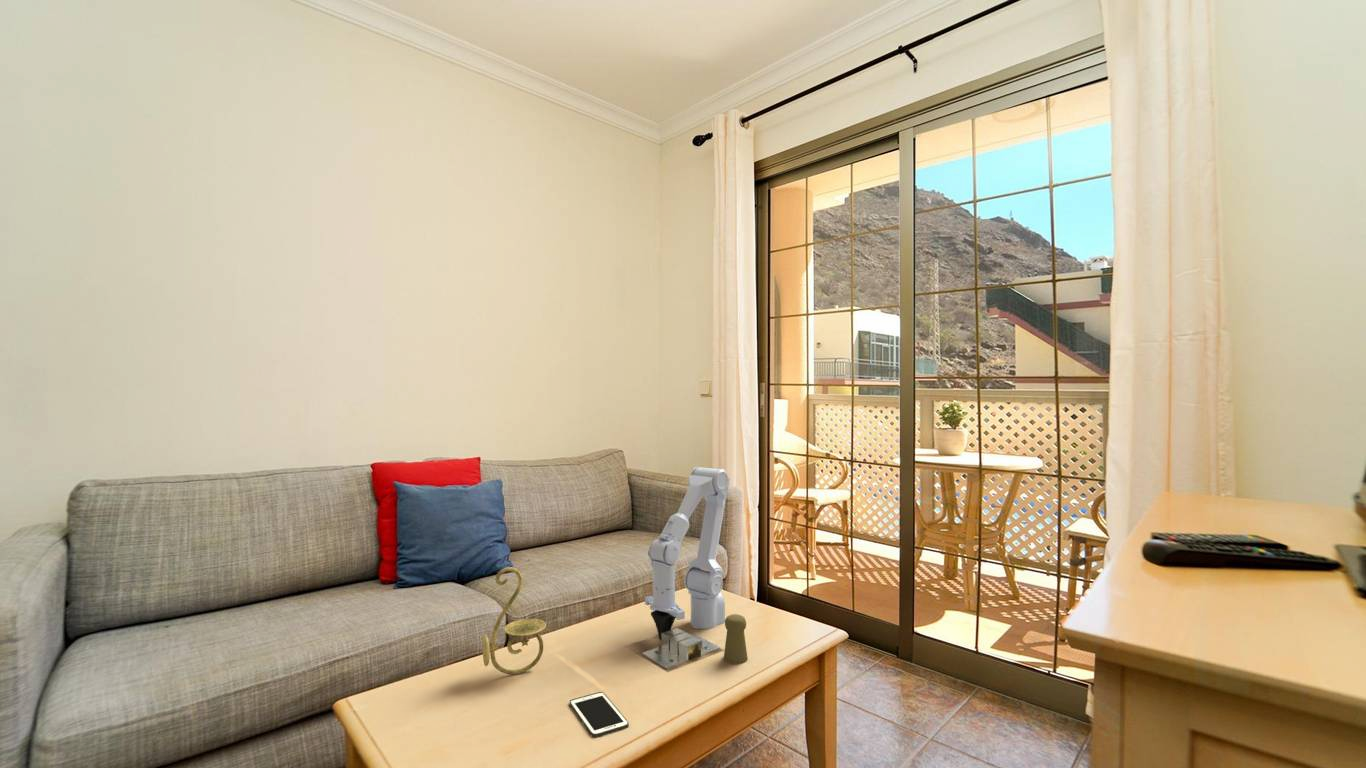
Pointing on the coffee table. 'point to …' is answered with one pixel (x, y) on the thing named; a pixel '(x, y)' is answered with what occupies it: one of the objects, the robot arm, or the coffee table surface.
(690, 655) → the pin
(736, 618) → the olive green pawn
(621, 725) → the cell phone
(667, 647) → the hinge leaves
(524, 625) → the wall sconce
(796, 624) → the coffee table surface
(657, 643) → the board
